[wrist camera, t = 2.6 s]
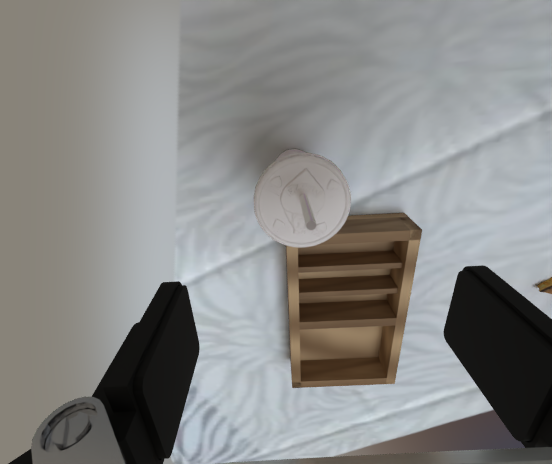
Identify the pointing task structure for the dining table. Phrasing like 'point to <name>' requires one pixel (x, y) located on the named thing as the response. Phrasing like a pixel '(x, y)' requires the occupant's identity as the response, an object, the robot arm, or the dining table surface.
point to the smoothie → (301, 199)
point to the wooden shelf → (351, 301)
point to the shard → (546, 286)
